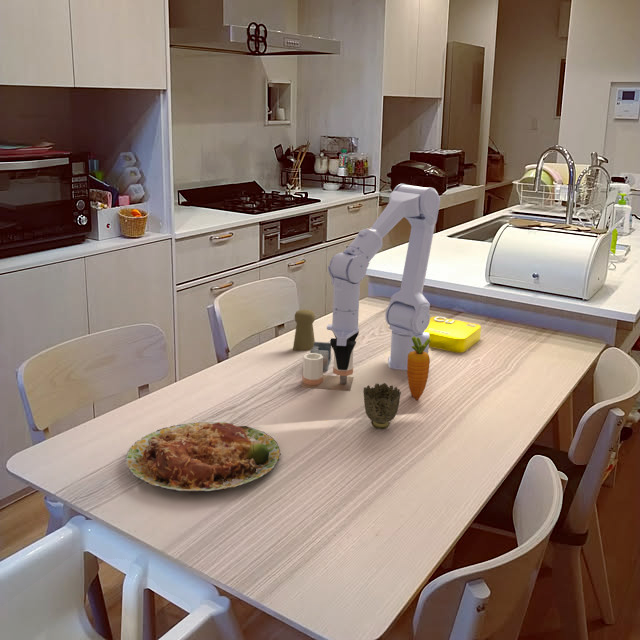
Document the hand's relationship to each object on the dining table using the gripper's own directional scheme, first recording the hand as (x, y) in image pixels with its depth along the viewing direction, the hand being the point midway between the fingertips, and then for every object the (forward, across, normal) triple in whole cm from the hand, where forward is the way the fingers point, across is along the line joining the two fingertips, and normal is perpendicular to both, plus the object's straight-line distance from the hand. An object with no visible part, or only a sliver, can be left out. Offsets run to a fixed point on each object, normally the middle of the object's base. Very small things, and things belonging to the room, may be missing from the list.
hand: (343, 365), depth 160 cm
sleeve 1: (+4, 0, -7) cm, 8 cm away
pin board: (+6, 0, -4) cm, 7 cm away
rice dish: (+6, +37, -22) cm, 43 cm away
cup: (+6, +18, +10) cm, 21 cm away
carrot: (+6, +4, +16) cm, 18 cm away
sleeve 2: (+2, 0, 0) cm, 2 cm away
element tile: (+6, -38, +24) cm, 46 cm away
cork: (+6, -22, -12) cm, 26 cm away
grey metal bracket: (+5, -10, -3) cm, 12 cm away
